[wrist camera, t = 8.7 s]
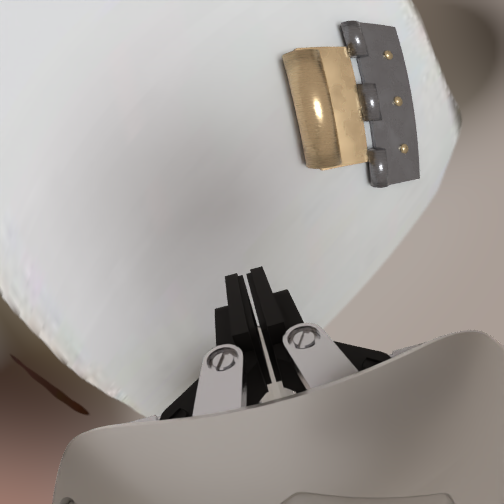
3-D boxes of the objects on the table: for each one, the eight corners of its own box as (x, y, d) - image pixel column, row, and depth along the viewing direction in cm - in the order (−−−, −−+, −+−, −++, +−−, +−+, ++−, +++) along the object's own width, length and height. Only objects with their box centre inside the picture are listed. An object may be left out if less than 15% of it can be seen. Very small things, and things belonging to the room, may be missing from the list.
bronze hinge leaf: (364, 160, 33) (381, 165, 29) (303, 172, 33) (315, 179, 29) (342, 48, 26) (359, 41, 22) (276, 52, 26) (285, 42, 22)
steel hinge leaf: (416, 177, 35) (427, 181, 33) (367, 187, 35) (377, 192, 33) (391, 28, 24) (402, 24, 22) (335, 22, 24) (344, 17, 22)
